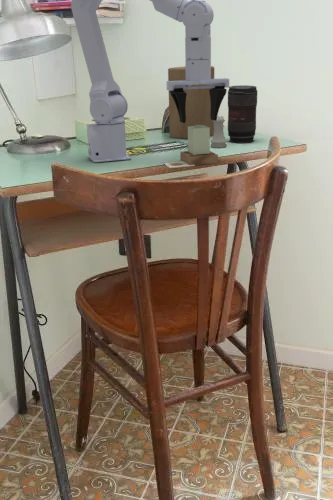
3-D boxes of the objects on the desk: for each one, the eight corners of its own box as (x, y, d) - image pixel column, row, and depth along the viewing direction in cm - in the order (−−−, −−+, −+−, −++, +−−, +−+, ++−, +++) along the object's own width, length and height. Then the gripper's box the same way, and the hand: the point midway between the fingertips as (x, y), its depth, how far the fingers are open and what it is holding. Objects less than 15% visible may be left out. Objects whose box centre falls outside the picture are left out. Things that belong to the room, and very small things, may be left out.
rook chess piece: (226, 148, 144) (226, 117, 141) (209, 148, 145) (209, 117, 142) (227, 145, 148) (227, 115, 145) (211, 145, 149) (211, 115, 146)
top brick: (193, 154, 126) (193, 127, 124) (188, 151, 130) (187, 124, 127) (209, 153, 127) (209, 125, 125) (203, 150, 131) (203, 123, 128)
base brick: (189, 165, 125) (189, 156, 124) (180, 160, 132) (180, 151, 131) (217, 163, 127) (217, 153, 126) (207, 157, 133) (207, 148, 133)
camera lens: (226, 143, 150) (227, 88, 145) (228, 138, 158) (228, 85, 152) (255, 143, 149) (257, 87, 144) (255, 138, 156) (257, 85, 151)
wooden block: (187, 133, 170) (186, 66, 163) (214, 135, 164) (215, 66, 157) (169, 137, 162) (167, 68, 155) (197, 140, 157) (196, 68, 150)
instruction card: (169, 168, 124) (169, 167, 123) (163, 164, 128) (163, 162, 128) (194, 165, 125) (194, 164, 125) (187, 161, 130) (187, 160, 129)
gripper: (172, 61, 115) (173, 125, 120) (235, 58, 119) (233, 121, 124) (163, 60, 122) (164, 121, 127) (222, 58, 125) (222, 117, 130)
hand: (198, 121), depth 126 cm, fingers open, 7 cm apart
